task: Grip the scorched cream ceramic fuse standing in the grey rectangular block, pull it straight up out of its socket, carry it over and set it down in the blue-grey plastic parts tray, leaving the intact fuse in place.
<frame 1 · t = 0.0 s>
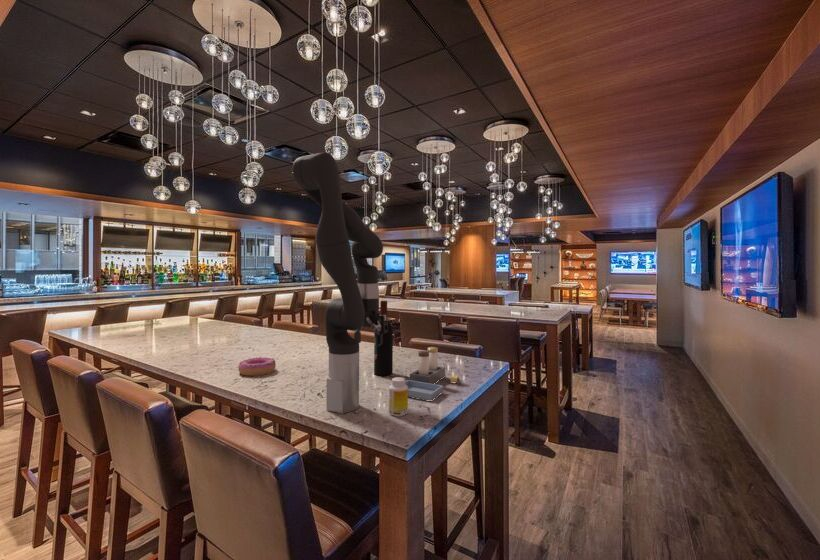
hand: (368, 344, 123), 17 cm above the table, tool pointing down, fingers open, 8 cm apart
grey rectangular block: (428, 380, 139), on the table
blown fuse: (423, 383, 136), resting in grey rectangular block
supplement bottle: (398, 414, 107), on the table
wine bottle: (383, 374, 148), on the table
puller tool: (453, 380, 140), on the table
donut: (257, 372, 150), on the table
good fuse: (432, 378, 143), resting in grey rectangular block
parts tray: (418, 393, 124), on the table
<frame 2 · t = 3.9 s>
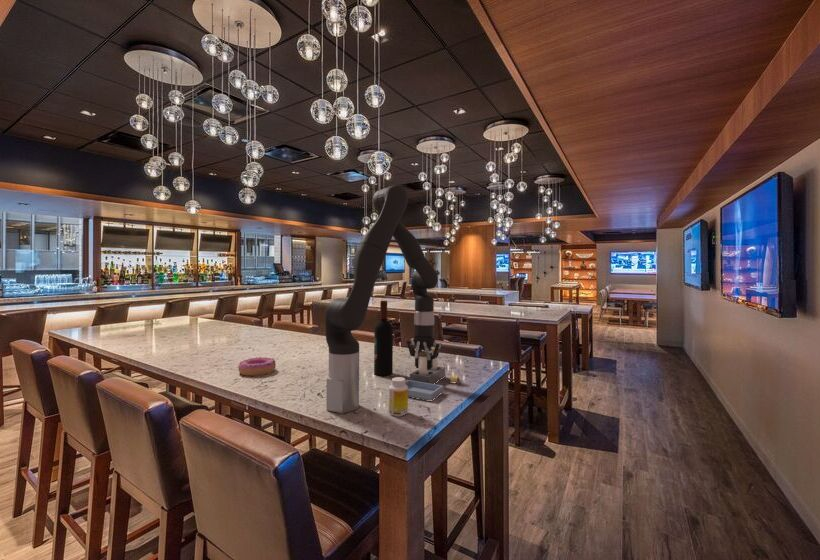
hand: (423, 368, 135), 6 cm above the table, tool pointing down, fingers closed on blown fuse, 4 cm apart
blown fuse: (423, 383, 136), resting in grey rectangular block, touching gripper
everything else where it was.
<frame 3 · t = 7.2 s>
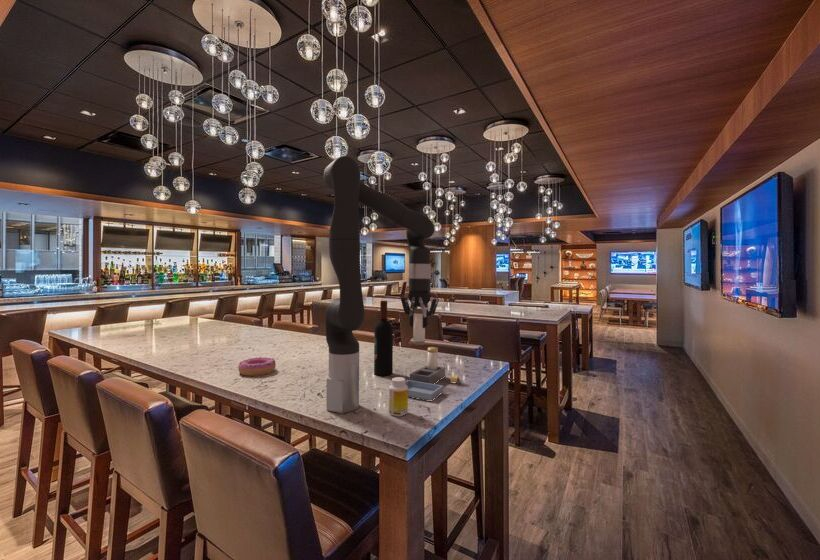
hand: (419, 327, 124), 23 cm above the table, tool pointing down, fingers closed on blown fuse, 4 cm apart
blown fuse: (418, 343, 124), point 17 cm above the table, touching gripper
everything else where it was.
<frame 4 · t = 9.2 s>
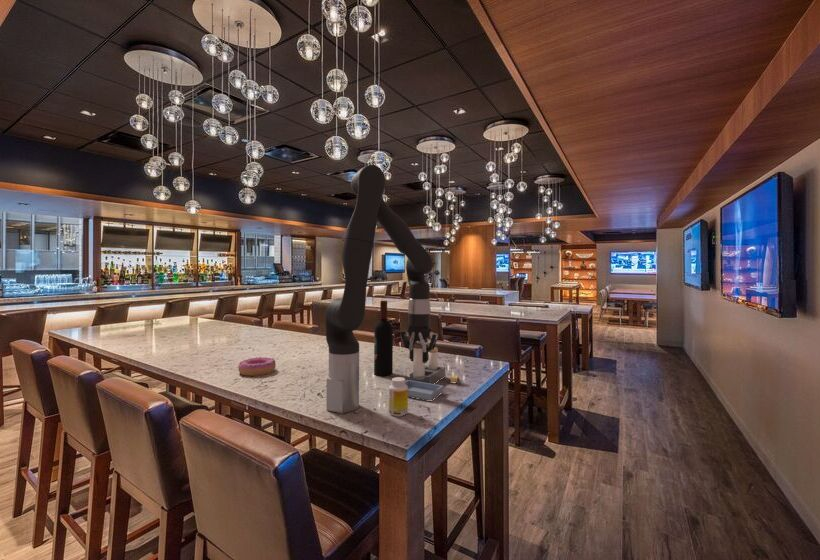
hand: (419, 361, 124), 11 cm above the table, tool pointing down, fingers closed on blown fuse, 4 cm apart
blown fuse: (419, 378, 124), point 5 cm above the table, touching gripper
everything else where it was.
when the fingers open (7 cm above the table, at t = 10.8 s): blown fuse stays where it is, resting on parts tray.
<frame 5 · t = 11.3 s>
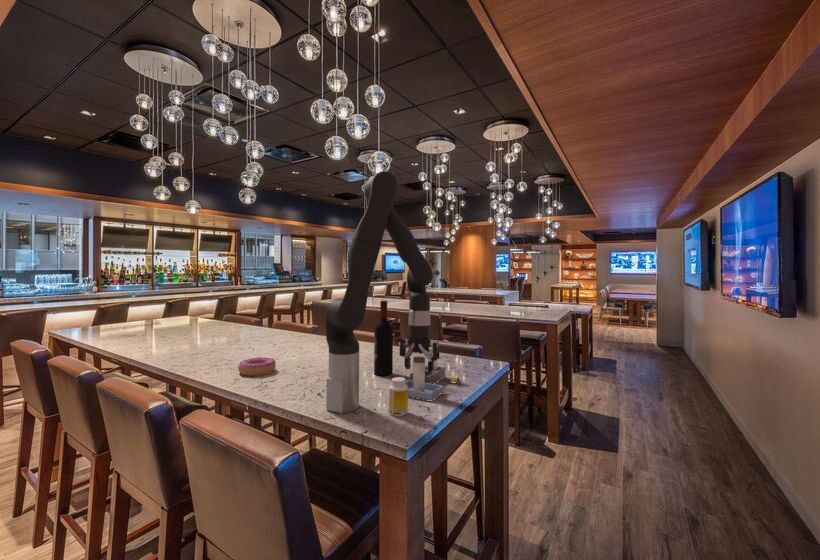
hand: (418, 370, 124), 8 cm above the table, tool pointing down, fingers open, 8 cm apart
blown fuse: (418, 392, 124), point 1 cm above the table, touching parts tray
everything else where it was.
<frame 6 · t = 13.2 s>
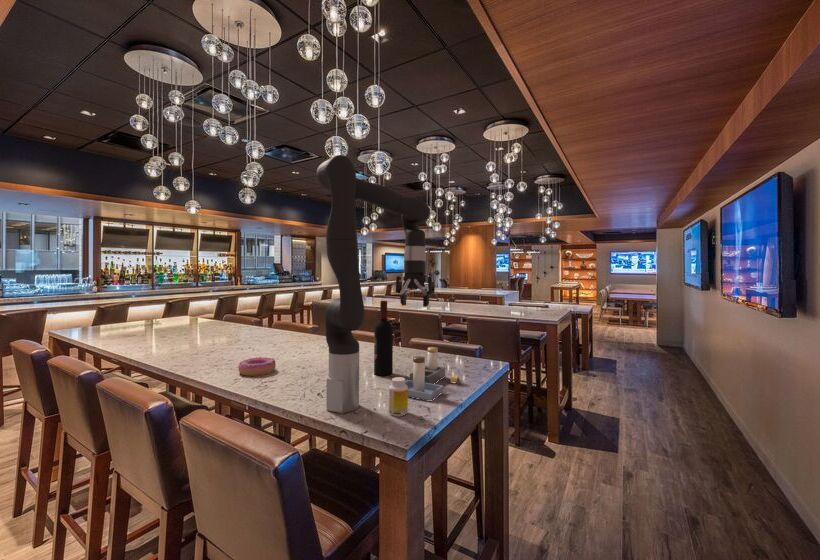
hand: (414, 306, 127), 30 cm above the table, tool pointing down, fingers open, 8 cm apart
nothing on the table moved.
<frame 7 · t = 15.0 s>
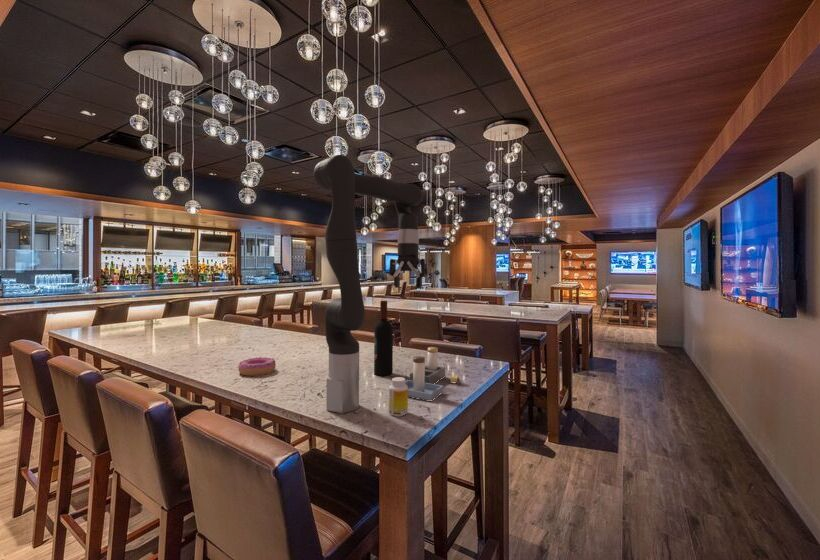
hand: (407, 288, 130), 36 cm above the table, tool pointing down, fingers open, 8 cm apart
nothing on the table moved.
at the end: blown fuse inside the target area on the parts tray (0.0 cm from its centre), point 0.5 cm above the parts tray's base; the gripper is holding nothing; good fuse moved 0.0 cm from its start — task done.
